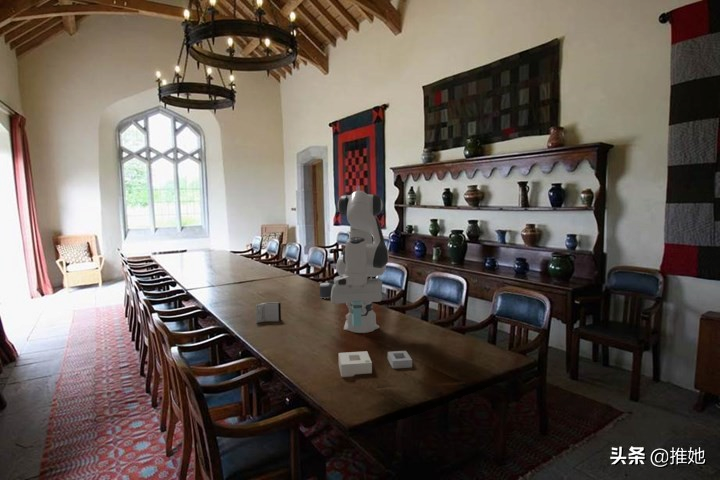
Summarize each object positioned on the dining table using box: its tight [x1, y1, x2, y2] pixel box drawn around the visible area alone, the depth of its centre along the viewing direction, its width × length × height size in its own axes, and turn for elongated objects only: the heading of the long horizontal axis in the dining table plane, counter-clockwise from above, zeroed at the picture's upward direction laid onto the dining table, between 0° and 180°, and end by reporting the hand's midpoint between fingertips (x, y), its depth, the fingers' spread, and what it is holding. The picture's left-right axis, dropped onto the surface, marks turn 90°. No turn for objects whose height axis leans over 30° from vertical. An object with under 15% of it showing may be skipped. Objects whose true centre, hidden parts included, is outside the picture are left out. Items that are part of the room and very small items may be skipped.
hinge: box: [254, 301, 282, 324], centre depth 229 cm, size 14×5×10 cm, turn 104°
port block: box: [338, 350, 373, 378], centre depth 164 cm, size 12×12×5 cm
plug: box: [352, 301, 361, 327], centre depth 161 cm, size 4×3×10 cm
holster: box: [387, 350, 413, 369], centre depth 168 cm, size 10×8×4 cm
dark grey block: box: [318, 279, 335, 300], centre depth 283 cm, size 11×13×11 cm
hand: (356, 313), depth 161 cm, fingers closed on plug, 3 cm apart
